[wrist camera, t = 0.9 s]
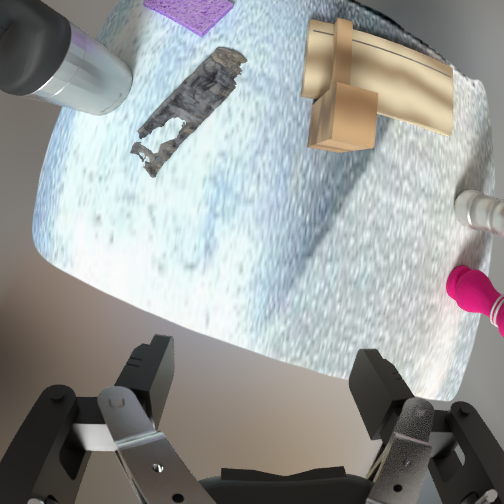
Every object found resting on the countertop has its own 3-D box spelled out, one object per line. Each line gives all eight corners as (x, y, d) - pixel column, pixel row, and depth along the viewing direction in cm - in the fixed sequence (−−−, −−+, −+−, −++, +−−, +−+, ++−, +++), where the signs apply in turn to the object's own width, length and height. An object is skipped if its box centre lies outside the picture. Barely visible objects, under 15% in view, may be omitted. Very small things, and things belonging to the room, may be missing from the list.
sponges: (202, 39, 34) (200, 33, 32) (144, 6, 31) (140, 1, 30) (234, 9, 32) (234, 3, 31) (174, -21, 30) (172, -27, 28)
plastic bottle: (456, 181, 39) (548, 198, 20) (480, 197, 40) (565, 220, 20) (444, 217, 41) (534, 250, 21) (469, 231, 41) (552, 266, 22)
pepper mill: (448, 262, 43) (527, 310, 24) (475, 262, 43) (550, 304, 24) (440, 301, 45) (508, 359, 25) (466, 298, 45) (533, 350, 26)
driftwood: (225, 43, 34) (224, 38, 32) (260, 71, 35) (260, 67, 33) (124, 147, 38) (118, 147, 36) (156, 177, 39) (151, 178, 37)
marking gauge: (339, 152, 38) (373, 147, 27) (307, 147, 38) (331, 138, 26) (348, 40, 33) (378, 5, 22) (318, 33, 33) (341, -7, 22)
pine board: (444, 135, 37) (452, 135, 35) (300, 96, 36) (303, 92, 34) (445, 70, 34) (452, 67, 32) (307, 25, 33) (310, 18, 31)
